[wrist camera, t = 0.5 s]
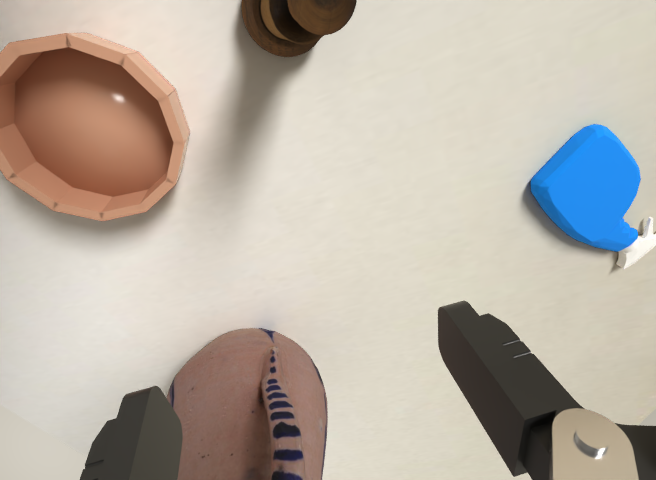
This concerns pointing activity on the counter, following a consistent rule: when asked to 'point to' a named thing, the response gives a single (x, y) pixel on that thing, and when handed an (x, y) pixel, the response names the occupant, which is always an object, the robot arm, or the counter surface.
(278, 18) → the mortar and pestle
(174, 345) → the counter surface
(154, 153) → the bowl
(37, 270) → the counter surface
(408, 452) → the counter surface
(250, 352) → the ceramic pitcher
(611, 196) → the spray bottle
